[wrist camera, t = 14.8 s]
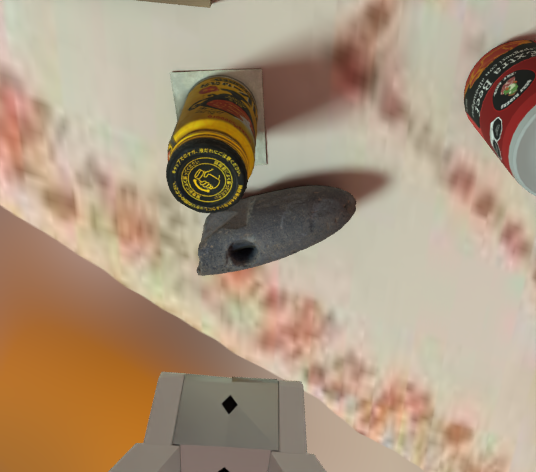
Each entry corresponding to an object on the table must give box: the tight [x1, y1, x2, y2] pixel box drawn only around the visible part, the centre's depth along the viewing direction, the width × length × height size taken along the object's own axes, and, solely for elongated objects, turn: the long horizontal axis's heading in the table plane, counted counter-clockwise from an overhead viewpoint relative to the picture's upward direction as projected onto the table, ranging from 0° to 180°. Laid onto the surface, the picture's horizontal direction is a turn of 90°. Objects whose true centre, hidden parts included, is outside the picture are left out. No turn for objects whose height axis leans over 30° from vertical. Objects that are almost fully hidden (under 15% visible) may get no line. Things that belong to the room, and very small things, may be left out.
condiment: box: [166, 69, 266, 213], centre depth 37 cm, size 7×8×12 cm
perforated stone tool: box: [197, 186, 356, 276], centre depth 44 cm, size 15×5×7 cm, turn 106°
